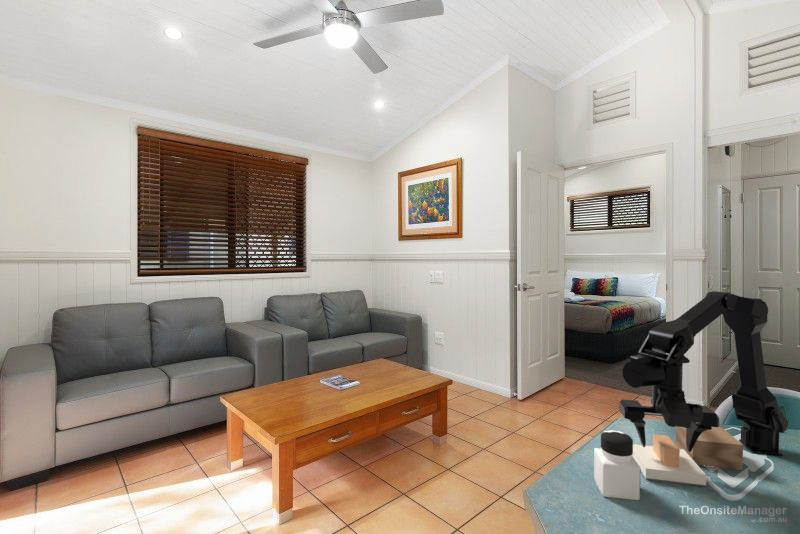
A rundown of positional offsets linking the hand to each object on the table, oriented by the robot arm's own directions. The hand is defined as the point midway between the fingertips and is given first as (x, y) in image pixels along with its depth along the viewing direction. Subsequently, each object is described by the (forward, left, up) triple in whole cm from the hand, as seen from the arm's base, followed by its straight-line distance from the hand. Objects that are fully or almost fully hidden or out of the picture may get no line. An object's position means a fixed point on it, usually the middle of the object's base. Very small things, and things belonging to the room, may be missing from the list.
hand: (665, 448), depth 94 cm
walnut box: (-12, -9, -5) cm, 16 cm away
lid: (0, 0, -4) cm, 4 cm away
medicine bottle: (+13, +11, -5) cm, 18 cm away
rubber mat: (0, 0, -5) cm, 5 cm away
